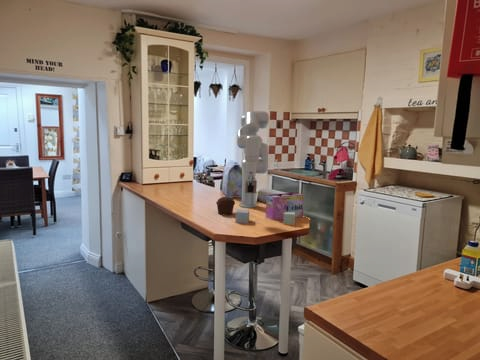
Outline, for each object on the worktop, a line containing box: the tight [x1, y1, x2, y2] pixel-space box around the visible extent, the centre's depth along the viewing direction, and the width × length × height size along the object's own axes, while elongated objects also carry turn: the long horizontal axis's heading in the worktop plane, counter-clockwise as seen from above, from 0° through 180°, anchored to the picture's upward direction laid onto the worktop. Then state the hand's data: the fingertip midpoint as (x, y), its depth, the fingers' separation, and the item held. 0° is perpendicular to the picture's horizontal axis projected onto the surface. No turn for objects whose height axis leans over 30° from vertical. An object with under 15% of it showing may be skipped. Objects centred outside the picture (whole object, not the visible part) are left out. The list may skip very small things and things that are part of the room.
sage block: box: [282, 211, 296, 226], centre depth 202 cm, size 6×6×6 cm
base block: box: [234, 209, 250, 224], centre depth 202 cm, size 7×7×6 cm
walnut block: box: [245, 180, 258, 194], centre depth 200 cm, size 6×6×6 cm
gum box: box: [265, 191, 305, 221], centre depth 216 cm, size 24×8×14 cm, turn 120°
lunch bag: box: [221, 159, 242, 199], centre depth 274 cm, size 22×17×26 cm
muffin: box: [215, 196, 236, 216], centre depth 219 cm, size 12×11×10 cm
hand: (250, 190), depth 200 cm, fingers closed on walnut block, 6 cm apart
